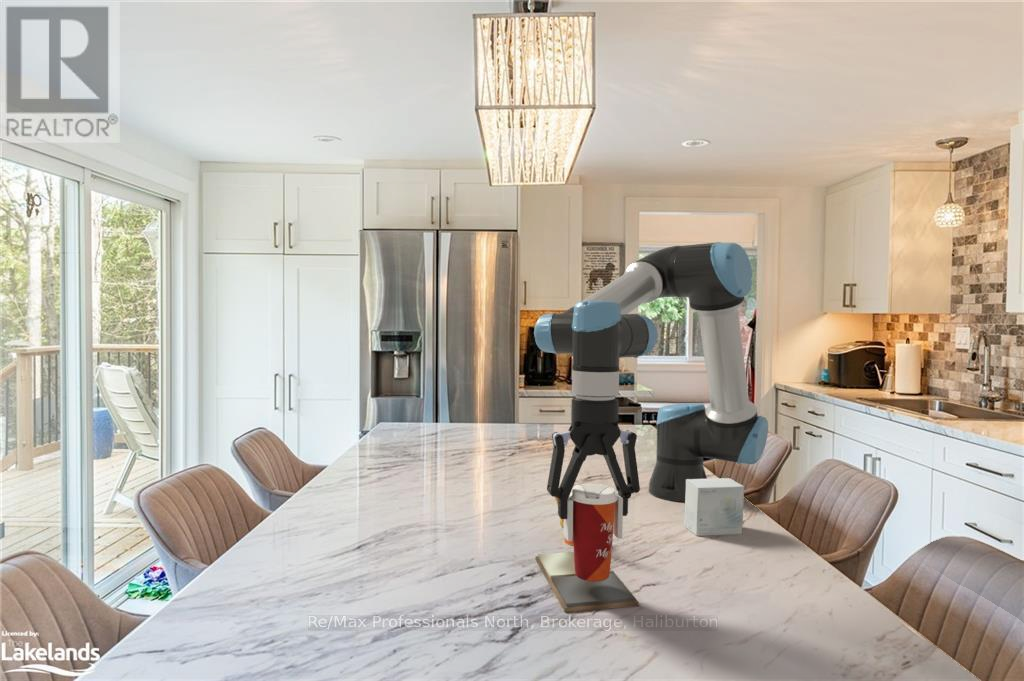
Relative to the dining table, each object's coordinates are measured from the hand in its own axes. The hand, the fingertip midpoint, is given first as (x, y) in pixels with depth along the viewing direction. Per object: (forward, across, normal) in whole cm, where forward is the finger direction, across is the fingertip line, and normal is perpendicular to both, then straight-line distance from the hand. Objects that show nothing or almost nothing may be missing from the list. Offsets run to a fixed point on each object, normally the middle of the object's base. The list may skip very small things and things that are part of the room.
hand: (592, 536), depth 96 cm
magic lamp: (+10, -4, -24) cm, 26 cm away
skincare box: (+10, -35, -24) cm, 44 cm away
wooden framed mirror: (+10, 0, -5) cm, 11 cm away
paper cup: (+6, 0, 0) cm, 6 cm away
